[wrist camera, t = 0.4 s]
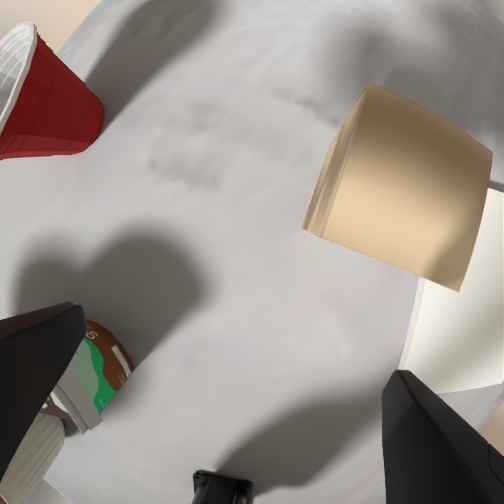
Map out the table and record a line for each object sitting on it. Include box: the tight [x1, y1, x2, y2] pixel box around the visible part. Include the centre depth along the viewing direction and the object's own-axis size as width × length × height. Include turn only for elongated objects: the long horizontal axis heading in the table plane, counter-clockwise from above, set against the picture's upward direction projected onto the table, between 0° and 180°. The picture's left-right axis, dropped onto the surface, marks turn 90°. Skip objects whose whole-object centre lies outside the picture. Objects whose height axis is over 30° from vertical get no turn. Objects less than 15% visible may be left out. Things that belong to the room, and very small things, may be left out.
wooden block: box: [302, 83, 493, 293], centre depth 14 cm, size 6×6×11 cm
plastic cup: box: [0, 20, 104, 160], centre depth 15 cm, size 11×11×12 cm
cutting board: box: [397, 188, 504, 394], centre depth 18 cm, size 18×14×1 cm
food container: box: [39, 320, 134, 435], centre depth 18 cm, size 12×6×10 cm, turn 97°
